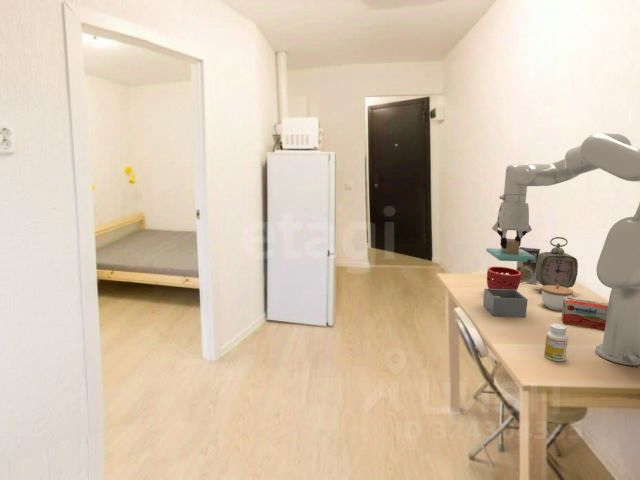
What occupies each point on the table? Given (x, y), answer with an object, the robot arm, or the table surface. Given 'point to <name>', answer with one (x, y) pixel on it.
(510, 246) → the teal base with post
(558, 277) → the tabletop clock
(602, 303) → the medicine box
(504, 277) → the plant pot
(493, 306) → the storage box
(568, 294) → the lidded jar
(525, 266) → the coffee box
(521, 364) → the table surface
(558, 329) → the supplement bottle
